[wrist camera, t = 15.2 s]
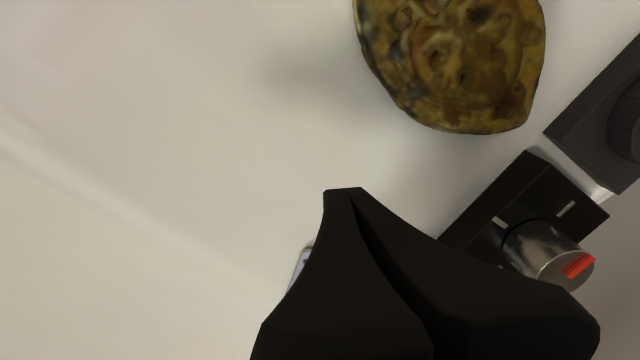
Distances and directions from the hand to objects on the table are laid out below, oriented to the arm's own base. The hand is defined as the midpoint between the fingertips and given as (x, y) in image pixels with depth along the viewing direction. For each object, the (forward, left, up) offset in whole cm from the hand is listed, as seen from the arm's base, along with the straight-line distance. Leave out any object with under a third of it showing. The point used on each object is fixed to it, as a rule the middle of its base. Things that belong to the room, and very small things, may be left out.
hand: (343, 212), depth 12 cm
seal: (+7, -6, -11) cm, 14 cm away
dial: (-3, -18, -8) cm, 20 cm away
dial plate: (-3, -18, -10) cm, 21 cm away
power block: (+8, -21, -10) cm, 25 cm away
